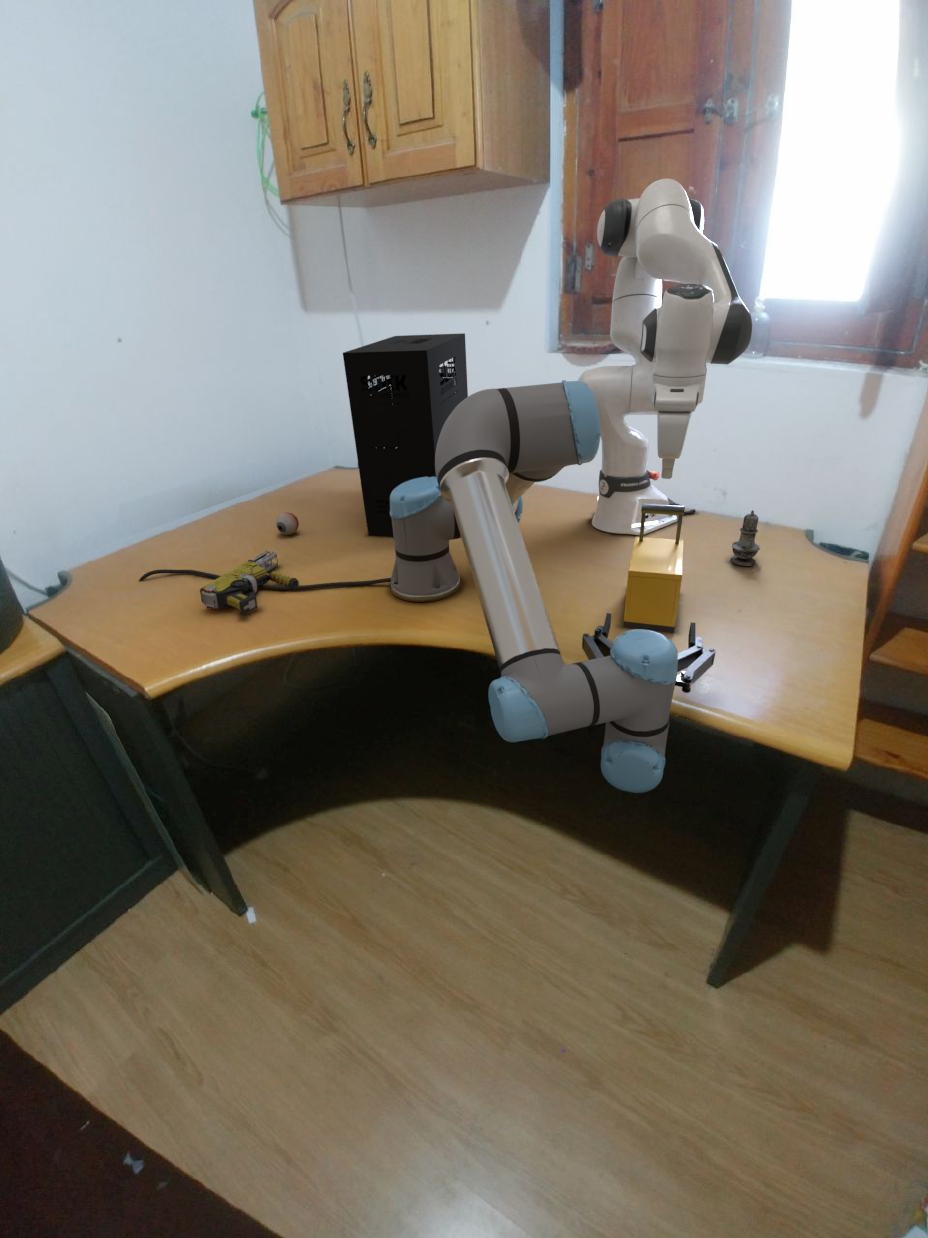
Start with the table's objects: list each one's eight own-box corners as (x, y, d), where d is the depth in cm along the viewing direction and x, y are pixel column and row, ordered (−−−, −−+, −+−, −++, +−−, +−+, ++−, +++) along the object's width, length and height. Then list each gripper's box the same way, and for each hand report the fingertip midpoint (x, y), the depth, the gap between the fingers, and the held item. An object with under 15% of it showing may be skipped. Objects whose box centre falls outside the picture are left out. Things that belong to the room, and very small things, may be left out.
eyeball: (273, 537, 164) (268, 516, 161) (287, 528, 169) (282, 508, 166) (291, 539, 161) (286, 518, 158) (305, 530, 166) (301, 510, 163)
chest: (630, 590, 127) (634, 543, 122) (676, 594, 124) (682, 546, 119) (623, 626, 115) (627, 576, 109) (674, 632, 112) (681, 581, 107)
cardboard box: (441, 538, 157) (426, 350, 134) (368, 534, 161) (342, 352, 139) (472, 491, 188) (464, 333, 166) (410, 490, 193) (395, 335, 170)
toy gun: (318, 559, 142) (264, 548, 146) (255, 602, 122) (194, 588, 125) (320, 577, 144) (266, 565, 148) (258, 622, 124) (198, 608, 128)
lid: (635, 541, 122) (639, 499, 118) (682, 545, 120) (688, 502, 115) (627, 575, 109) (632, 530, 105) (681, 580, 107) (688, 534, 102)
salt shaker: (759, 566, 133) (770, 515, 127) (731, 565, 134) (740, 514, 128) (754, 555, 138) (764, 505, 132) (726, 555, 139) (735, 505, 133)
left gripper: (551, 706, 90) (574, 634, 108) (731, 735, 83) (724, 652, 100) (552, 665, 87) (576, 597, 104) (740, 691, 79) (732, 613, 97)
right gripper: (660, 381, 114) (652, 454, 121) (654, 402, 97) (646, 485, 104) (696, 381, 112) (686, 455, 119) (696, 402, 95) (684, 487, 102)
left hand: (649, 624), depth 102 cm, fingers open, 13 cm apart
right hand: (667, 469), depth 112 cm, fingers open, 8 cm apart
